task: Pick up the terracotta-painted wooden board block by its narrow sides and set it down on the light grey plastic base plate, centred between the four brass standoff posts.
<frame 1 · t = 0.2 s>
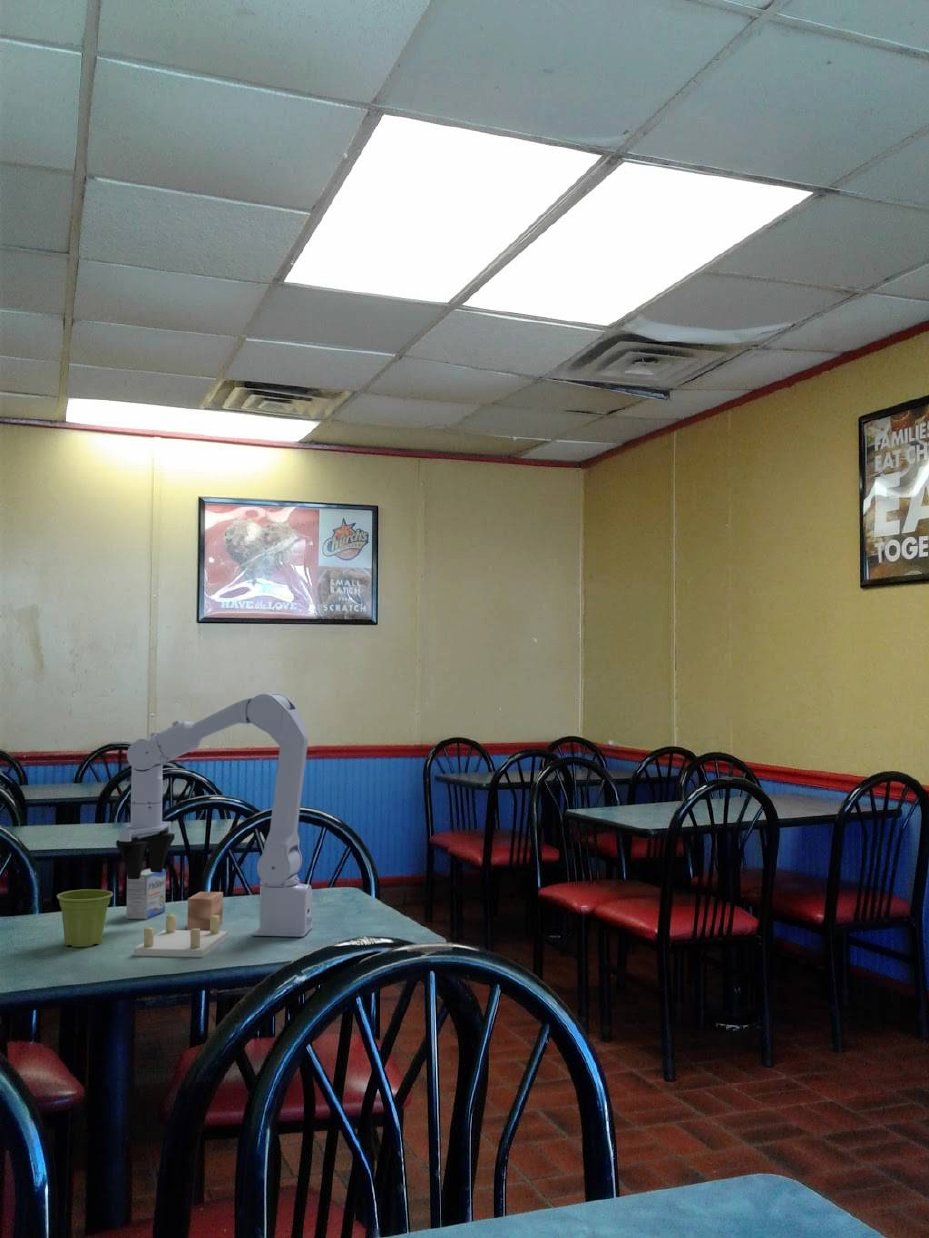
hand: (145, 875, 202), 10 cm above the table, tool pointing down, fingers open, 7 cm apart
board block: (205, 927, 203), on the table
plant pot: (83, 944, 189), on the table
medicine box: (145, 916, 213), on the table
standoff plate: (182, 946, 187), on the table
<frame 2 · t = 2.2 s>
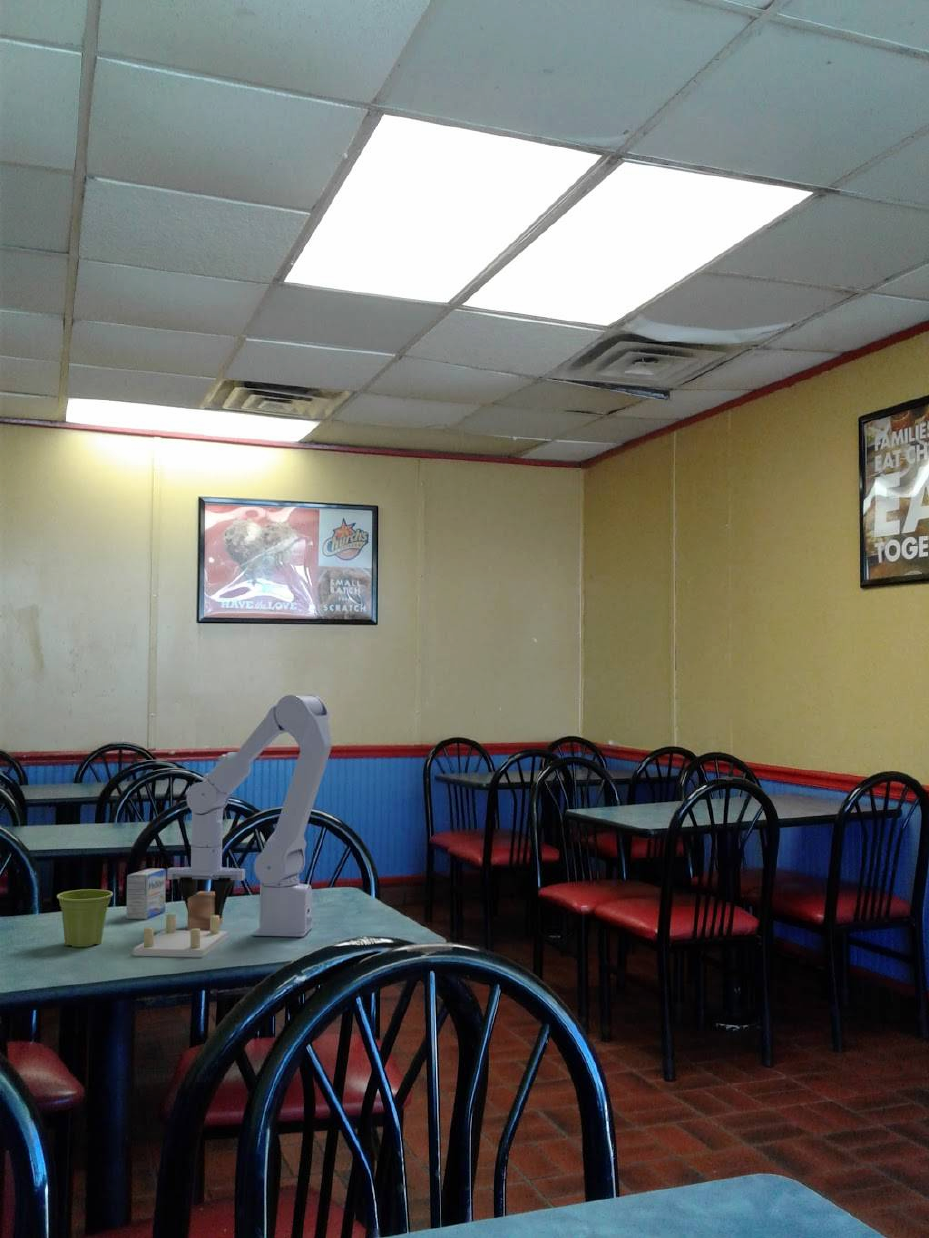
hand: (205, 918, 203), 2 cm above the table, tool pointing down, fingers closed on board block, 4 cm apart
board block: (205, 926, 203), on the table, touching gripper
everything else where it was.
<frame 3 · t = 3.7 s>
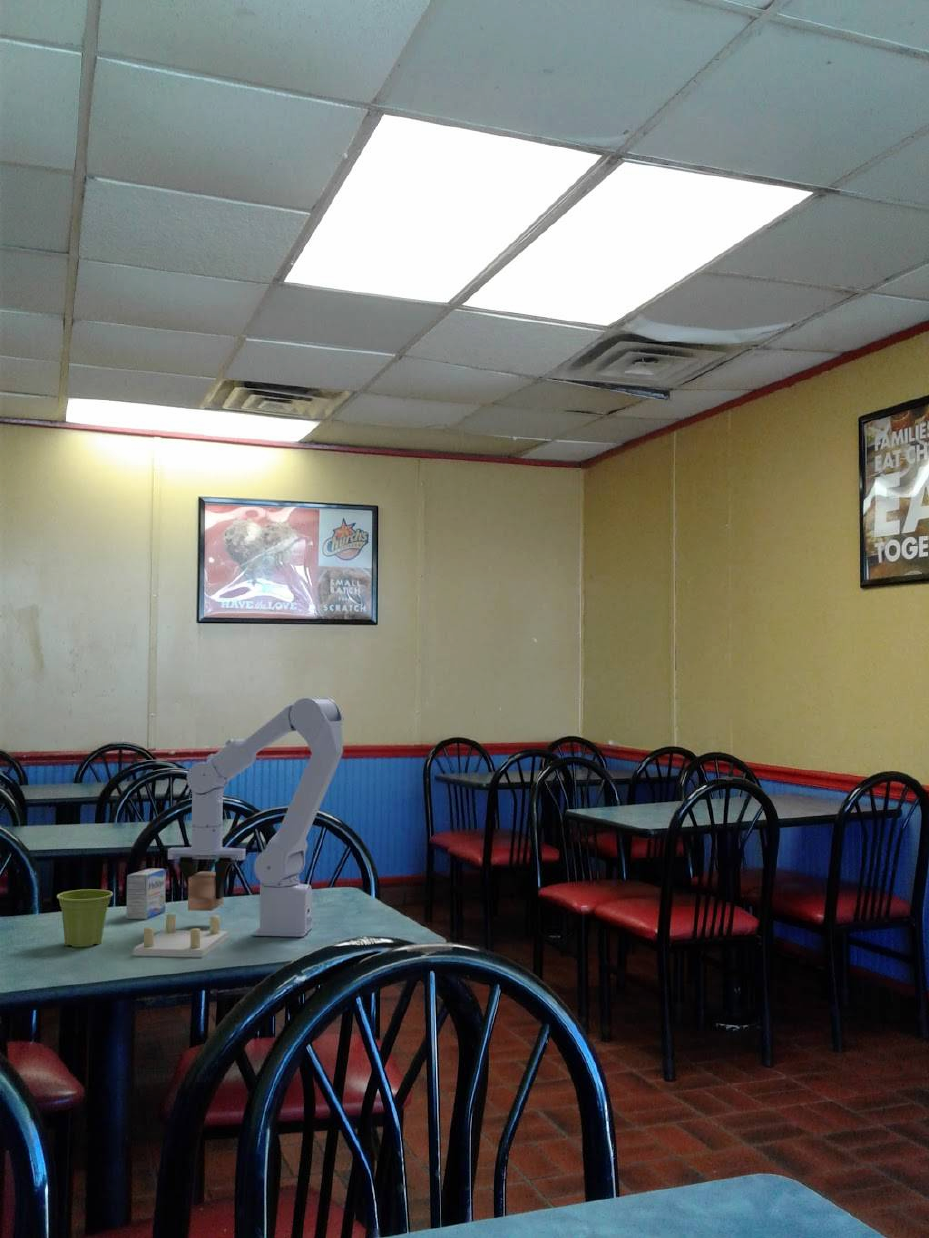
hand: (205, 897, 203), 5 cm above the table, tool pointing down, fingers closed on board block, 4 cm apart
board block: (205, 906, 203), point 4 cm above the table, touching gripper
everything else where it was.
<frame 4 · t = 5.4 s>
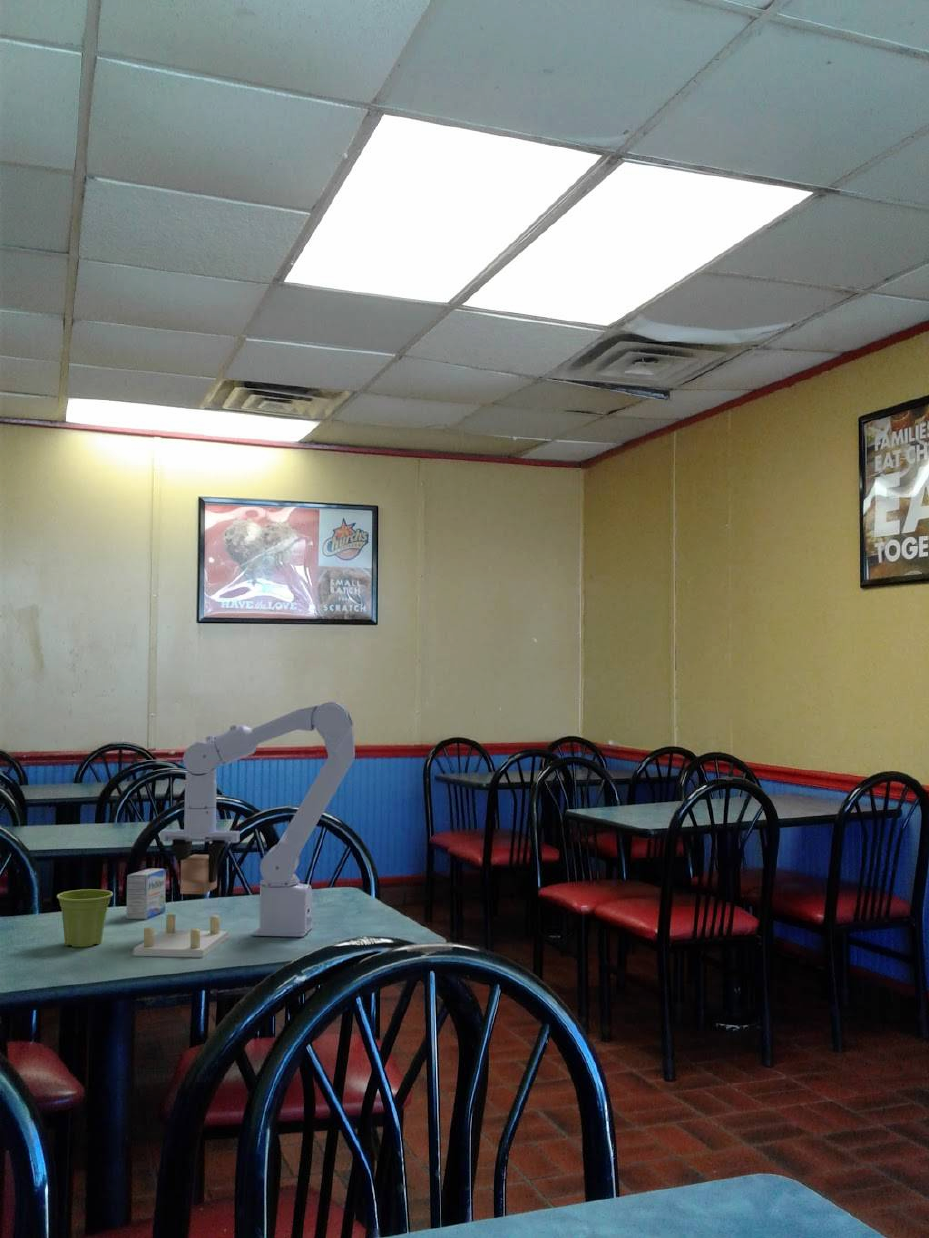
hand: (199, 881, 198), 9 cm above the table, tool pointing down, fingers closed on board block, 4 cm apart
board block: (198, 890, 198), point 8 cm above the table, touching gripper
everything else where it was.
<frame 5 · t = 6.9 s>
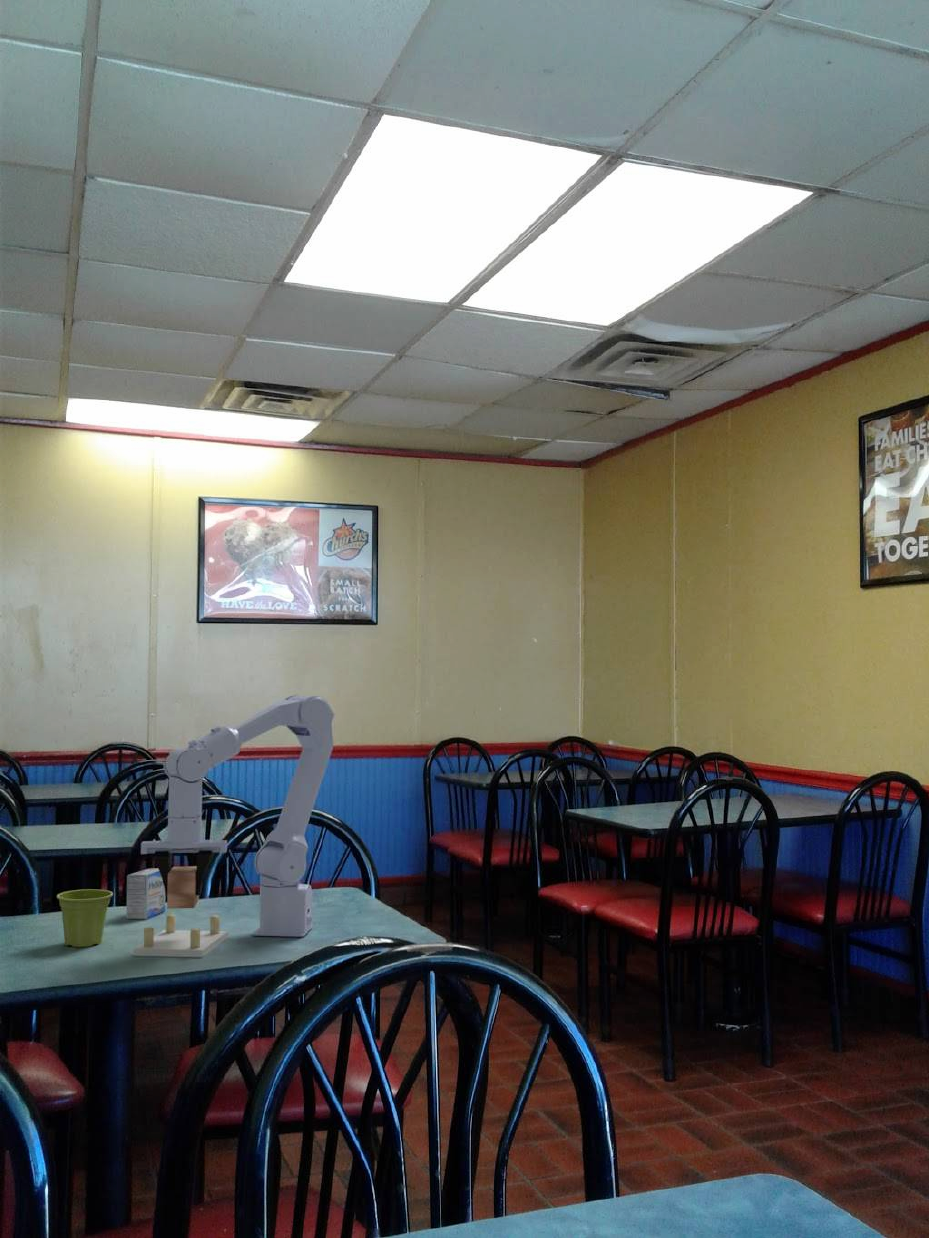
hand: (183, 894, 188), 9 cm above the table, tool pointing down, fingers closed on board block, 4 cm apart
board block: (183, 904, 188), point 7 cm above the table, touching gripper
everything else where it was.
when the fingers open (4 cm above the table, at t = 8.4 s): board block drops 1 cm, resting on standoff plate.
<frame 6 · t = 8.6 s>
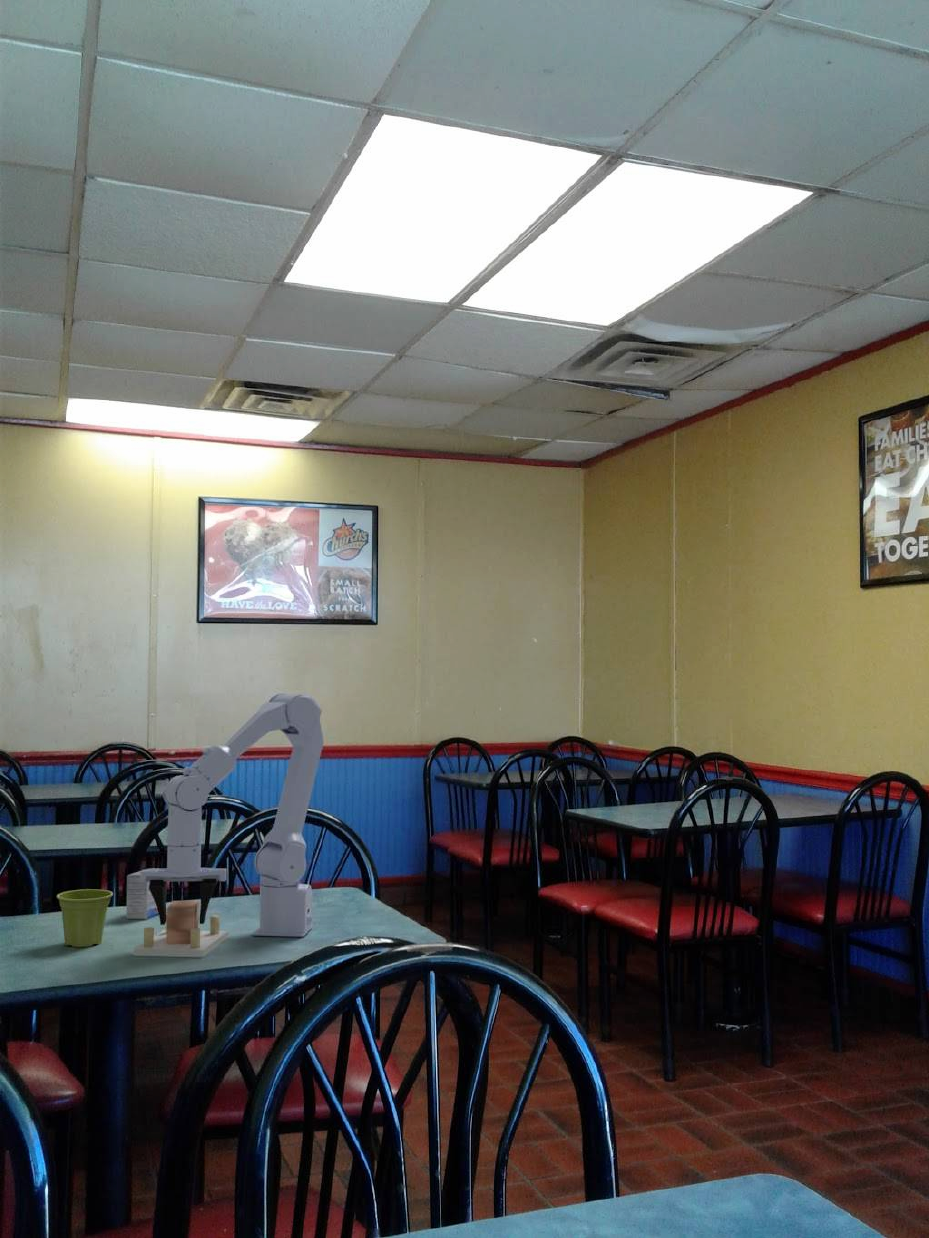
hand: (182, 923, 188), 4 cm above the table, tool pointing down, fingers open, 6 cm apart
board block: (182, 939, 188), point 1 cm above the table, touching standoff plate
everything else where it was.
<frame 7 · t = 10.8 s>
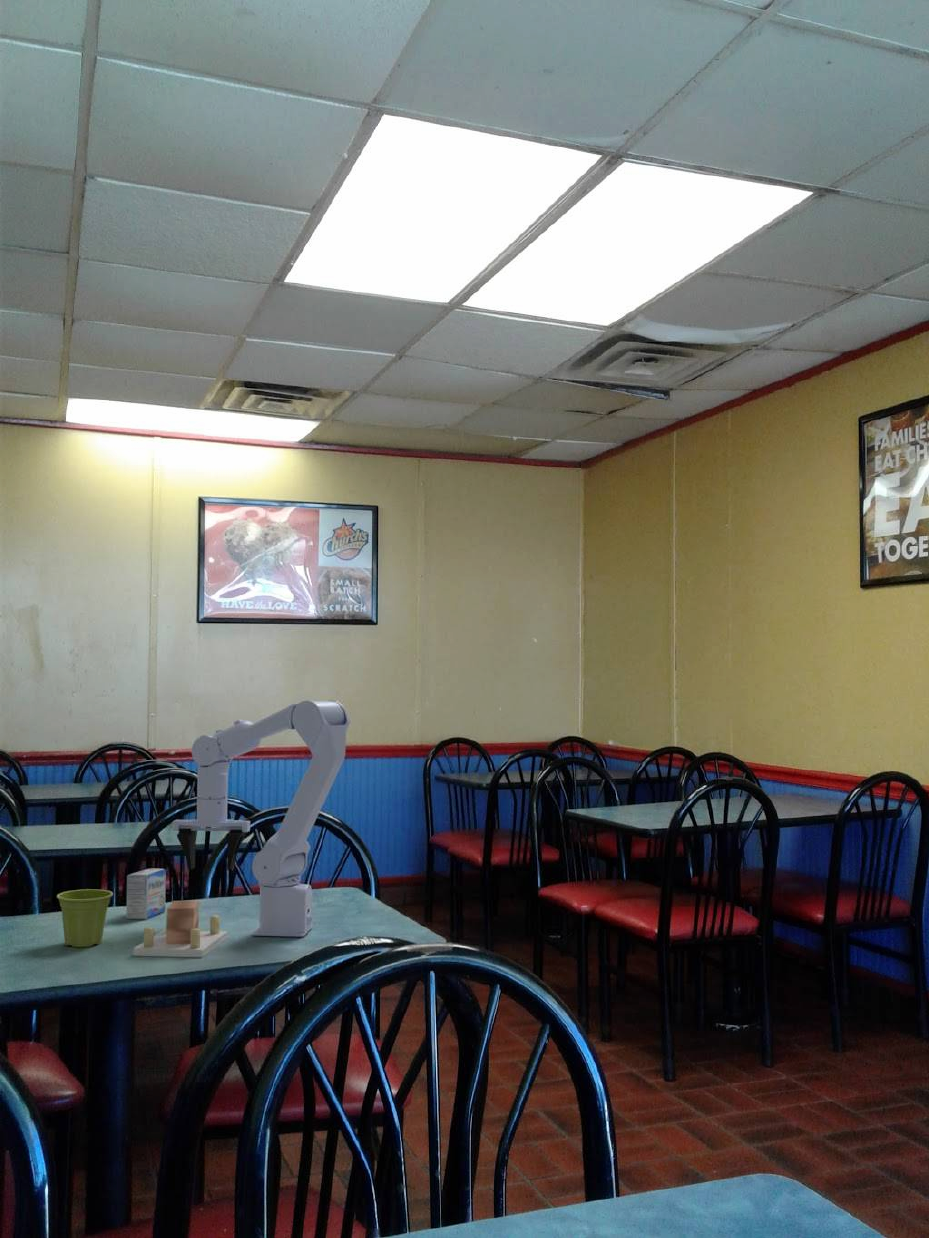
hand: (210, 869, 206), 10 cm above the table, tool pointing down, fingers open, 7 cm apart
nothing on the table moved.
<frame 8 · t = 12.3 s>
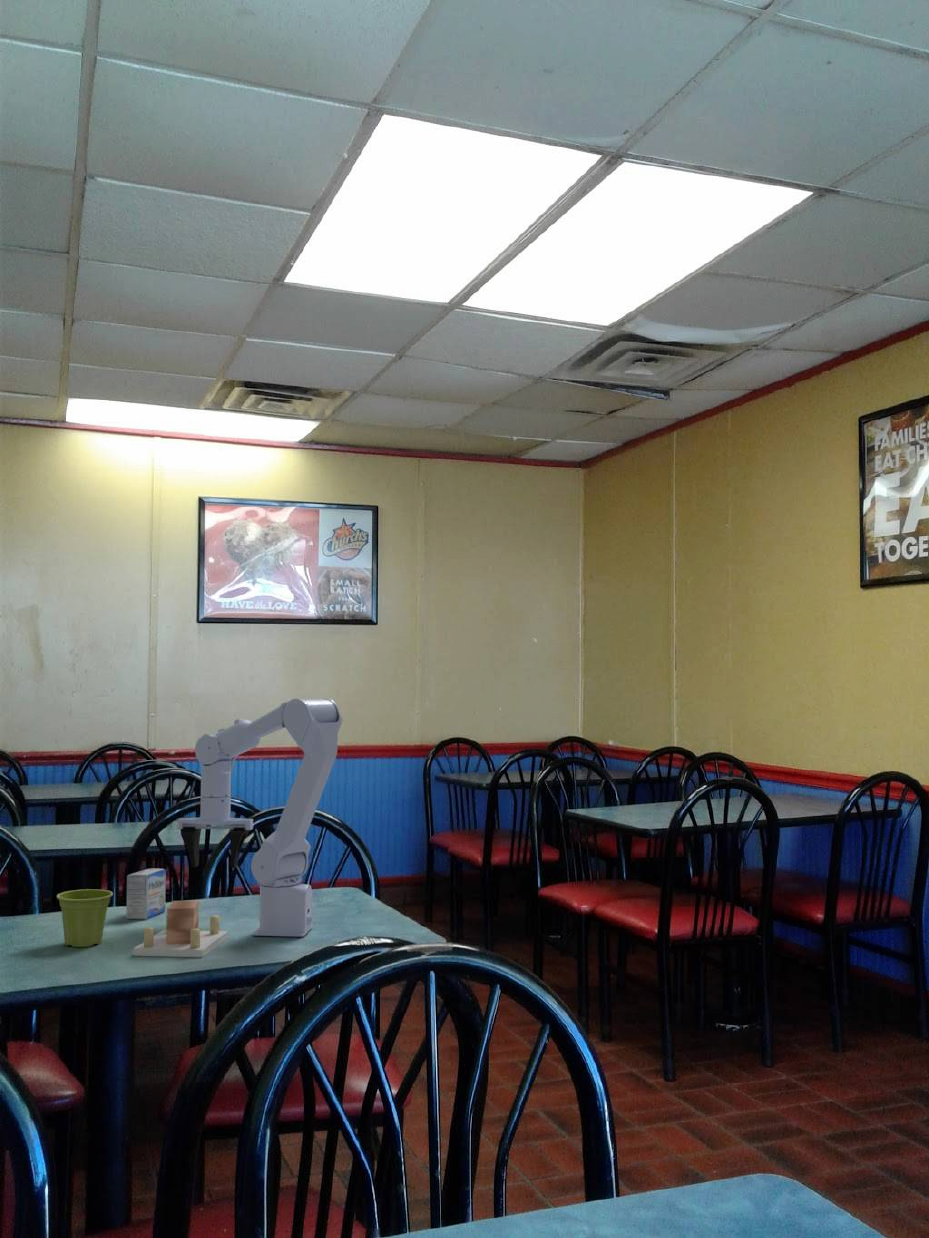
hand: (214, 866, 208), 10 cm above the table, tool pointing down, fingers open, 7 cm apart
nothing on the table moved.
at the end: board block 0.2 cm off-centre on the standoff plate, point 1.2 cm above the standoff plate's base; board block tilted 0°; the gripper is holding nothing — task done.
